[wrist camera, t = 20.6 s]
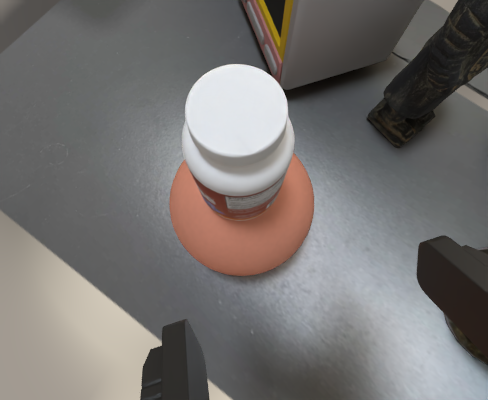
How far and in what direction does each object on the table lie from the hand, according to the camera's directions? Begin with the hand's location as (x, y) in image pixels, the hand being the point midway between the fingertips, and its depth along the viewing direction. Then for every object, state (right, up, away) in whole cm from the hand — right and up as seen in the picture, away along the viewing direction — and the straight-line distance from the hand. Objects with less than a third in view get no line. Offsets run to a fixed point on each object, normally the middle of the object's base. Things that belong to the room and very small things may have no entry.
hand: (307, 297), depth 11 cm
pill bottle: (-2, +4, +15) cm, 15 cm away
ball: (-2, +1, +29) cm, 29 cm away
